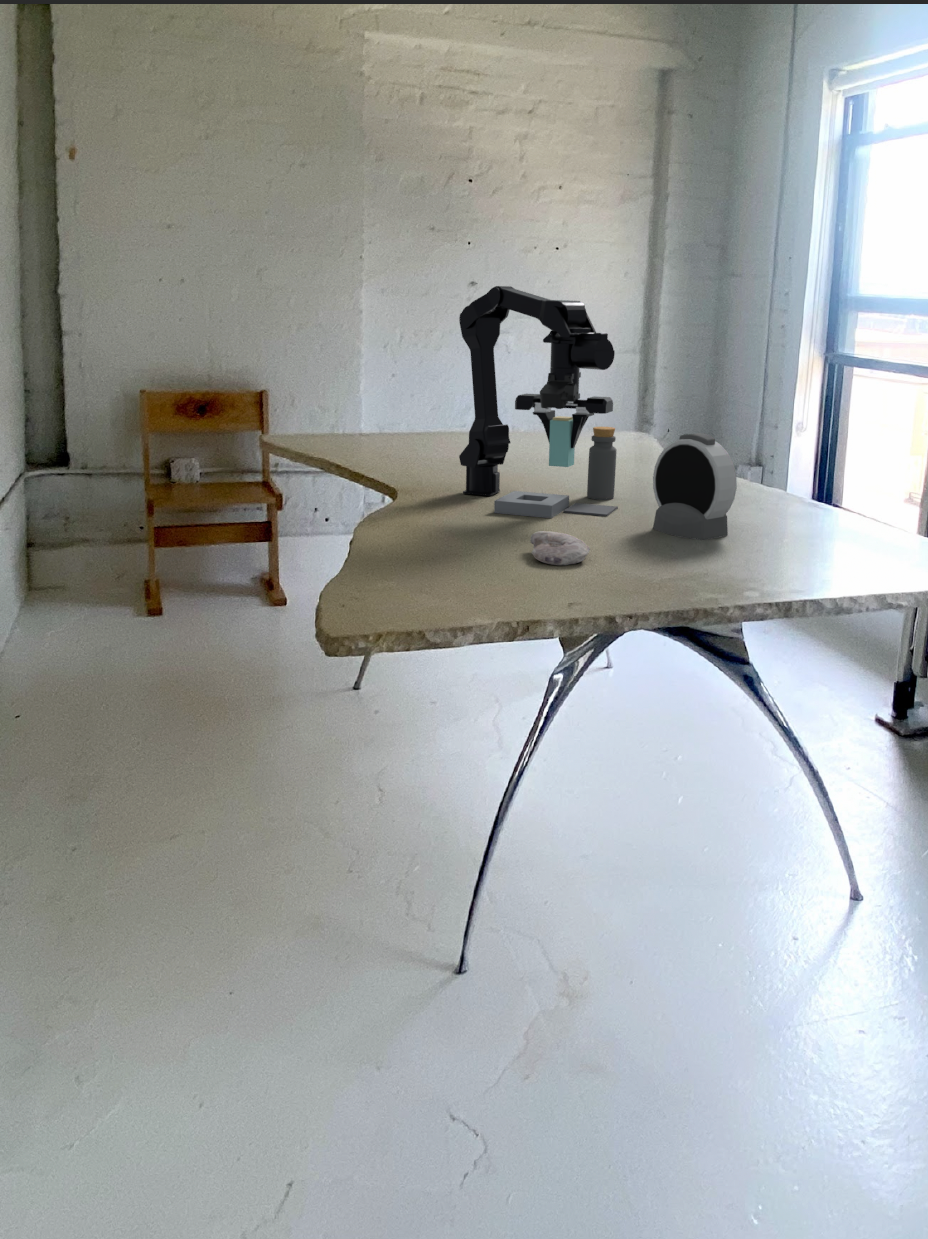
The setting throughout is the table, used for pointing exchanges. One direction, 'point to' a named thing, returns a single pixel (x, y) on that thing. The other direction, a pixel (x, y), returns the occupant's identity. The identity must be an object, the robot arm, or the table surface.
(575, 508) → the pad
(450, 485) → the table surface
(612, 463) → the bottle
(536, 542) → the fossil
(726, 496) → the alarm clock
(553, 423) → the plug
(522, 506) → the grey square socket block
